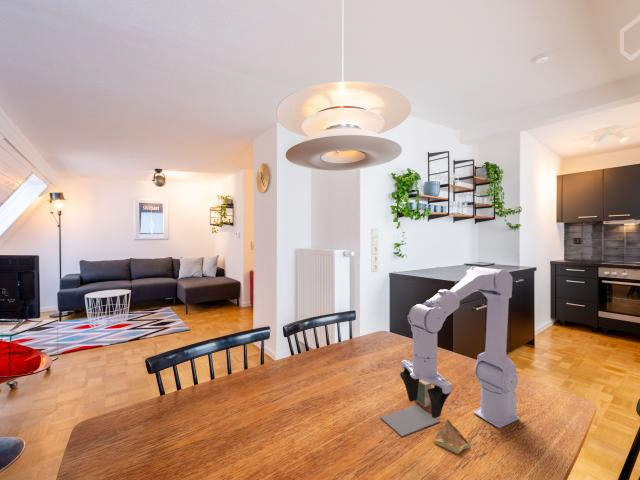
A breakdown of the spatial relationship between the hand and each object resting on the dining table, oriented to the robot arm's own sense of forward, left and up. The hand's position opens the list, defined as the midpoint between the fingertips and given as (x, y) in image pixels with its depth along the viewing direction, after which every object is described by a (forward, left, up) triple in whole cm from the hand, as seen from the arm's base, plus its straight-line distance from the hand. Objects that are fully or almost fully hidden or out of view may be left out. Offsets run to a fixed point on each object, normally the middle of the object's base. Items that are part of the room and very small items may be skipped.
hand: (423, 408), depth 75 cm
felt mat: (-5, -10, -10) cm, 15 cm away
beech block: (-15, -15, -10) cm, 23 cm away
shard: (-8, 0, -11) cm, 14 cm away
